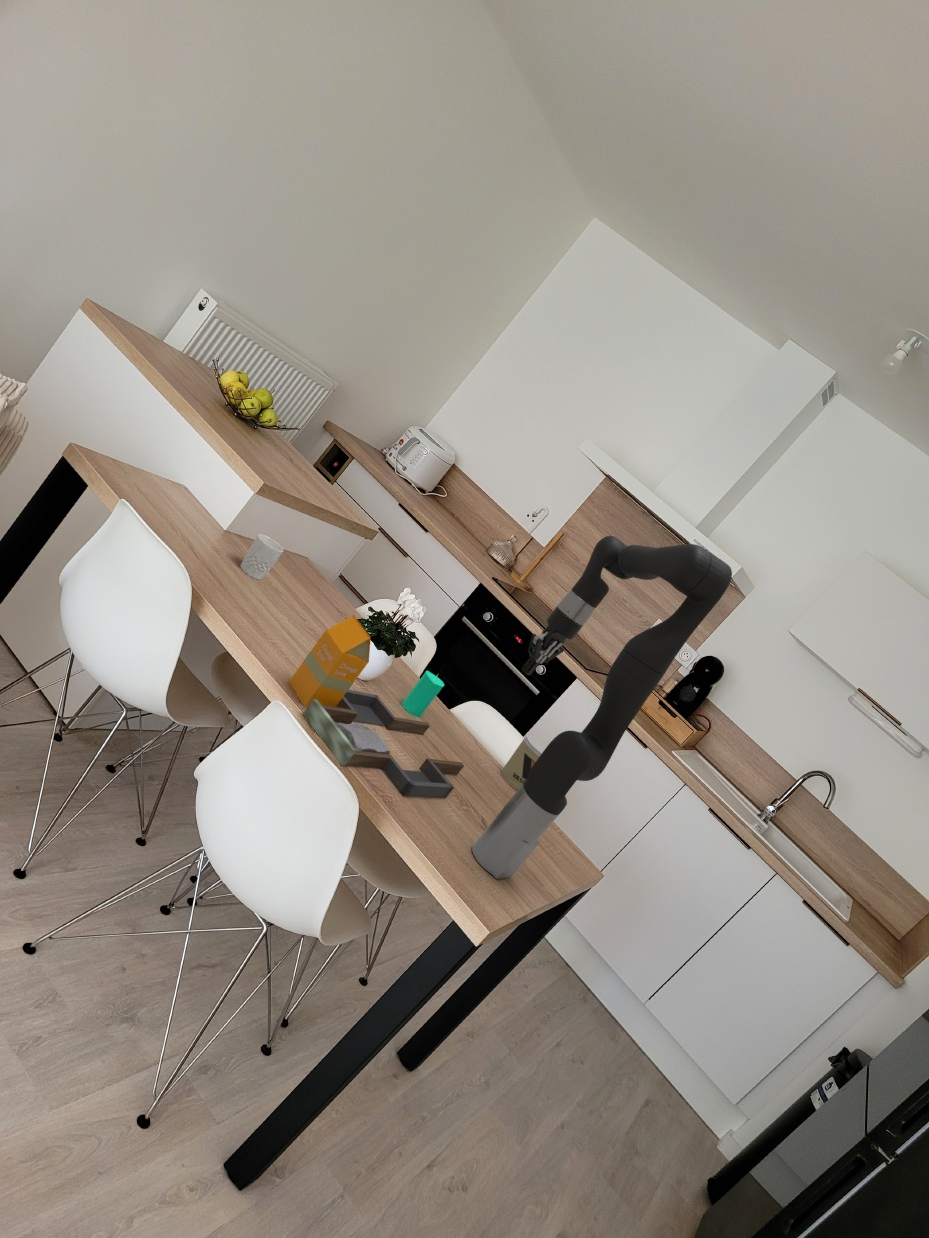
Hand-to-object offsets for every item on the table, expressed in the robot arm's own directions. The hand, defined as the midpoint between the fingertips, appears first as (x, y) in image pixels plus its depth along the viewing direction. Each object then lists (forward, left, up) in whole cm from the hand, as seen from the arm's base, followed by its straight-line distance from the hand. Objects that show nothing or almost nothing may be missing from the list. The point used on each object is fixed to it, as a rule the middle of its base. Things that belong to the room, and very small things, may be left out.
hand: (525, 672), depth 192 cm
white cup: (+74, +20, -29) cm, 82 cm away
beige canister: (-4, -24, -29) cm, 38 cm away
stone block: (+3, +33, -30) cm, 44 cm away
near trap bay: (-8, +22, -29) cm, 38 cm away
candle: (+21, -3, -29) cm, 36 cm away
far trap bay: (+16, +22, -29) cm, 40 cm away
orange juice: (+18, +36, -29) cm, 50 cm away
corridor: (+4, +22, -29) cm, 37 cm away
